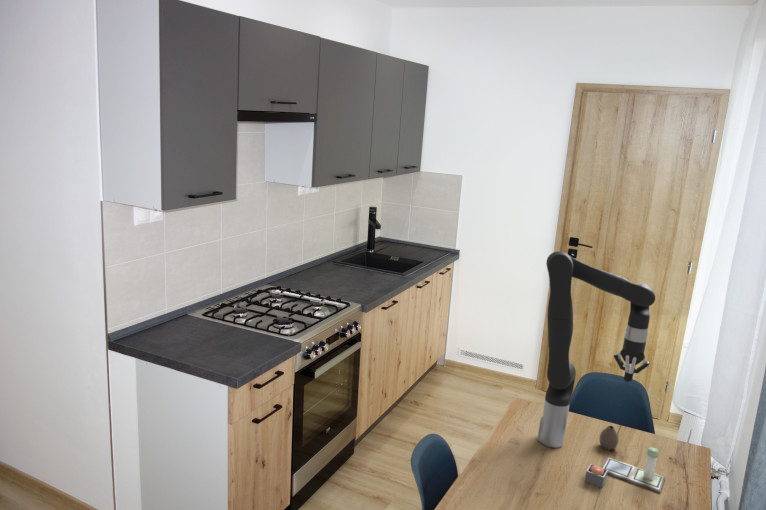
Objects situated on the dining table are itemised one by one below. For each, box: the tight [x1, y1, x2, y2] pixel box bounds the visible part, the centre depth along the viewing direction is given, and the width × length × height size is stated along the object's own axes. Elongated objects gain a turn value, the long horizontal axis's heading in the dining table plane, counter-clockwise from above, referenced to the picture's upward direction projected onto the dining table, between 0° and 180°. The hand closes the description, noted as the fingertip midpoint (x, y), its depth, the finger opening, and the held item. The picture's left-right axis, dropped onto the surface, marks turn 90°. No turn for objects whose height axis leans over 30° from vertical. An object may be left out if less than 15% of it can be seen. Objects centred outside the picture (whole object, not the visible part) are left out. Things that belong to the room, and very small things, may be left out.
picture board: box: [601, 456, 666, 494], centre depth 218 cm, size 20×11×1 cm, turn 57°
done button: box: [590, 465, 604, 476], centre depth 212 cm, size 4×4×3 cm
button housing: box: [584, 463, 608, 489], centre depth 212 cm, size 6×6×4 cm
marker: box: [643, 447, 660, 481], centre depth 214 cm, size 4×4×11 cm
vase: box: [599, 425, 620, 451], centre depth 235 cm, size 7×7×9 cm
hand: (627, 381), depth 227 cm, fingers closed
